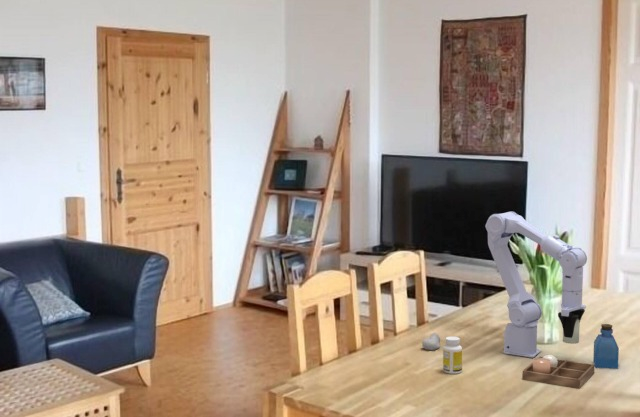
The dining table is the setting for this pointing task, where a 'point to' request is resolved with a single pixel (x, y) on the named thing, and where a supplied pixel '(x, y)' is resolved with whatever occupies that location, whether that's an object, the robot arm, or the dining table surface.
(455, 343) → the supplement bottle
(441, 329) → the dining table surface
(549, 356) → the egg
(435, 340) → the smooth white sculpture
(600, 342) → the perfume bottle
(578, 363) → the wooden compartment tray
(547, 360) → the pink rounded cylinder
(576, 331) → the sage green cylinder
